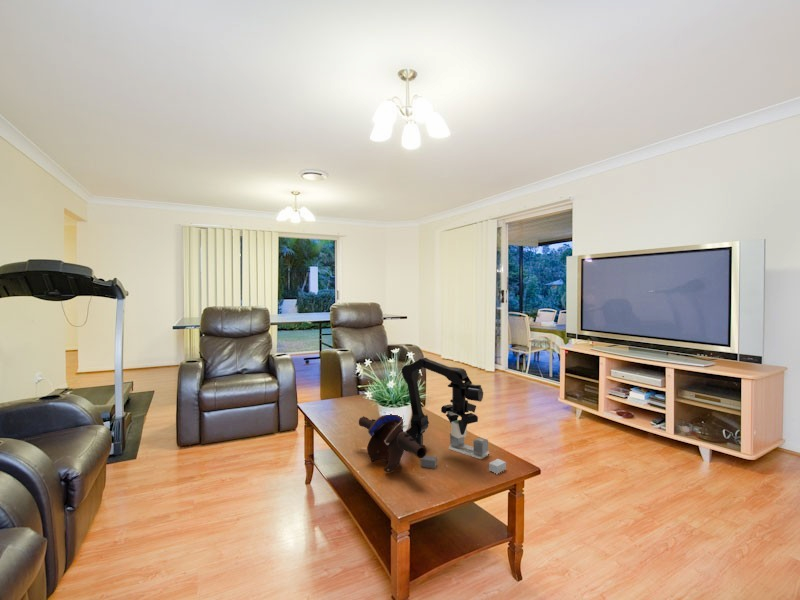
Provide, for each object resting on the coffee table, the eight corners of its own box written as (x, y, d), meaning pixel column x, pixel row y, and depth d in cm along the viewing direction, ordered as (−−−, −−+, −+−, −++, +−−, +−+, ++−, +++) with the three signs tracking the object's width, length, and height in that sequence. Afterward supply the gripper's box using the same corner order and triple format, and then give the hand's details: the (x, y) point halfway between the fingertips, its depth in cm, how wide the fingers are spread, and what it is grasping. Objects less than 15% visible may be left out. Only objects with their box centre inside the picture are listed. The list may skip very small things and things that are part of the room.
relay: (434, 469, 160) (434, 460, 160) (421, 467, 162) (420, 459, 161) (436, 464, 164) (436, 456, 163) (423, 463, 165) (423, 455, 165)
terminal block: (496, 474, 154) (496, 466, 154) (489, 471, 158) (488, 462, 158) (506, 470, 158) (506, 462, 158) (498, 467, 161) (498, 458, 161)
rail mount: (481, 459, 168) (481, 443, 168) (449, 448, 179) (449, 433, 179) (489, 454, 173) (489, 438, 173) (457, 444, 184) (457, 429, 184)
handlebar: (349, 451, 177) (349, 408, 177) (372, 444, 185) (372, 403, 184) (409, 491, 142) (409, 438, 141) (435, 481, 150) (435, 430, 149)
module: (457, 438, 166) (457, 424, 165) (451, 435, 169) (451, 421, 169) (466, 436, 168) (466, 422, 168) (459, 432, 172) (459, 419, 172)
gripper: (487, 400, 164) (487, 436, 165) (459, 390, 180) (459, 423, 181) (467, 404, 159) (467, 441, 159) (440, 393, 175) (440, 427, 175)
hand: (458, 432), depth 169 cm, fingers closed on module, 4 cm apart
